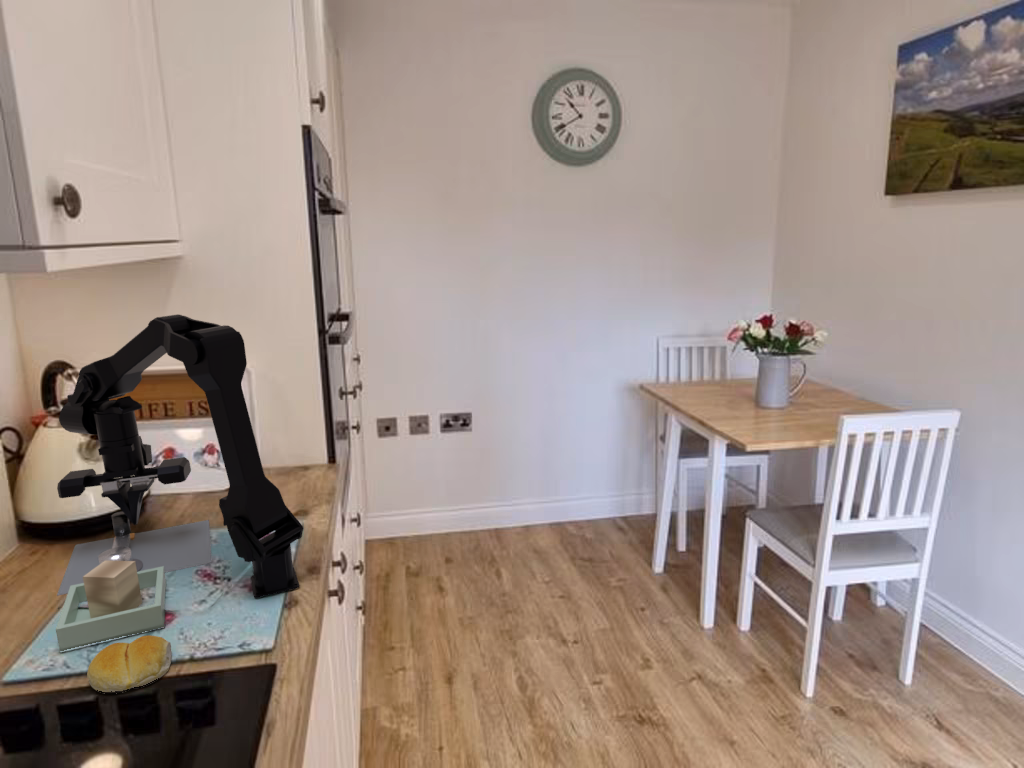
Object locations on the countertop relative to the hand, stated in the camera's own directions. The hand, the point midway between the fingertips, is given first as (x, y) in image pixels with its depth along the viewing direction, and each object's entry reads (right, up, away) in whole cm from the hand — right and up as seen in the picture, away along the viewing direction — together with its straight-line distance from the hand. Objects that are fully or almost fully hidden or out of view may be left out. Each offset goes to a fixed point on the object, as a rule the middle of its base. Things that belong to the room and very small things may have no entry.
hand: (135, 524), depth 112 cm
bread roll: (+17, -12, -30) cm, 37 cm away
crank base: (+2, -5, -2) cm, 6 cm away
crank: (0, -4, -4) cm, 6 cm away
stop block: (+8, -9, -19) cm, 23 cm away
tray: (+8, -9, -19) cm, 23 cm away
